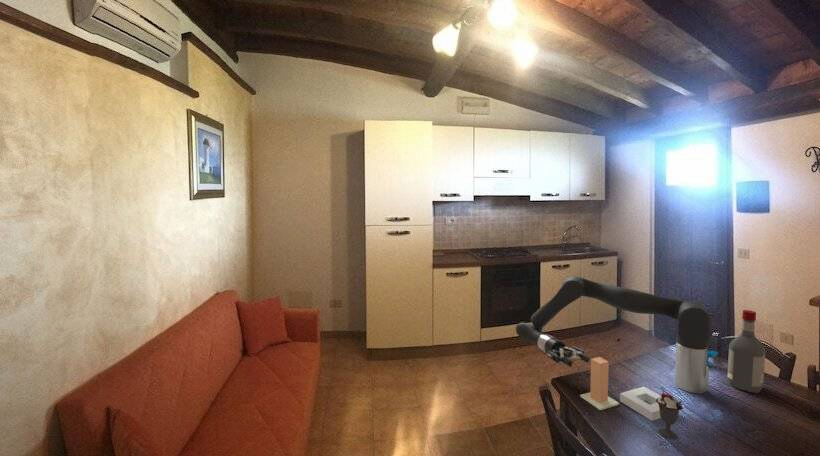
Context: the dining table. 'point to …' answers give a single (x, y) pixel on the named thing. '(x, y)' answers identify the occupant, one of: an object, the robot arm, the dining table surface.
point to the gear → (710, 356)
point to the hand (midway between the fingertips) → (580, 362)
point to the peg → (599, 379)
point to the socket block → (642, 402)
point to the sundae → (668, 413)
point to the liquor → (746, 357)
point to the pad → (599, 405)
